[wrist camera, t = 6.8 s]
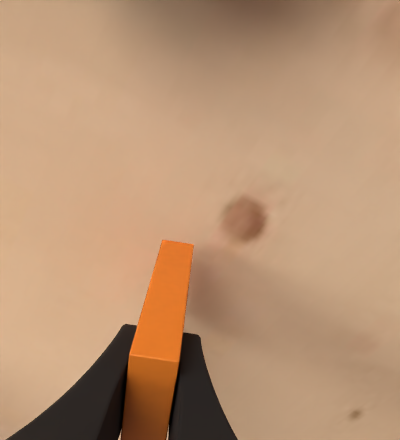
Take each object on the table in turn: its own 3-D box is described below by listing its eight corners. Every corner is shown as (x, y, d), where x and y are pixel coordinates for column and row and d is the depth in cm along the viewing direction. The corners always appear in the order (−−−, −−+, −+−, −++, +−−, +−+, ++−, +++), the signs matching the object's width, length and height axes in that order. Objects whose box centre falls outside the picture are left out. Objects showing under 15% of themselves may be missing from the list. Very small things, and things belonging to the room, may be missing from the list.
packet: (194, 244, 17) (179, 361, 10) (181, 319, 19) (162, 461, 12) (162, 239, 17) (128, 354, 10) (152, 315, 19) (119, 454, 12)
